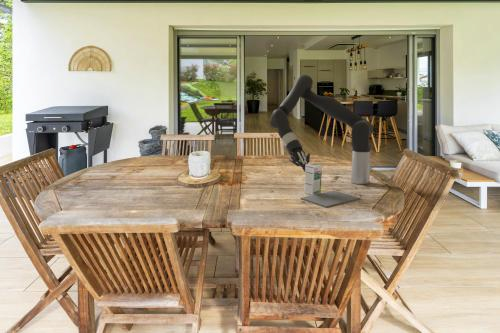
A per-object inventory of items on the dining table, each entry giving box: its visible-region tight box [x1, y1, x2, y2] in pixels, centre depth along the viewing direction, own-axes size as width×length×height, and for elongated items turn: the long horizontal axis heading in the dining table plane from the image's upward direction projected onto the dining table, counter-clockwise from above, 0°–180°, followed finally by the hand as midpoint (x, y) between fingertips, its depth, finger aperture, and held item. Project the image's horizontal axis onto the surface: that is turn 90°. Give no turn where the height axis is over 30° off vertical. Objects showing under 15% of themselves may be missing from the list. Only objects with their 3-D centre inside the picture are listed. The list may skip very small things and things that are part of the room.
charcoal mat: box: [300, 190, 361, 208], centre depth 176 cm, size 22×16×1 cm
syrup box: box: [303, 162, 323, 196], centre depth 184 cm, size 6×6×14 cm
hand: (307, 171), depth 186 cm, fingers closed
